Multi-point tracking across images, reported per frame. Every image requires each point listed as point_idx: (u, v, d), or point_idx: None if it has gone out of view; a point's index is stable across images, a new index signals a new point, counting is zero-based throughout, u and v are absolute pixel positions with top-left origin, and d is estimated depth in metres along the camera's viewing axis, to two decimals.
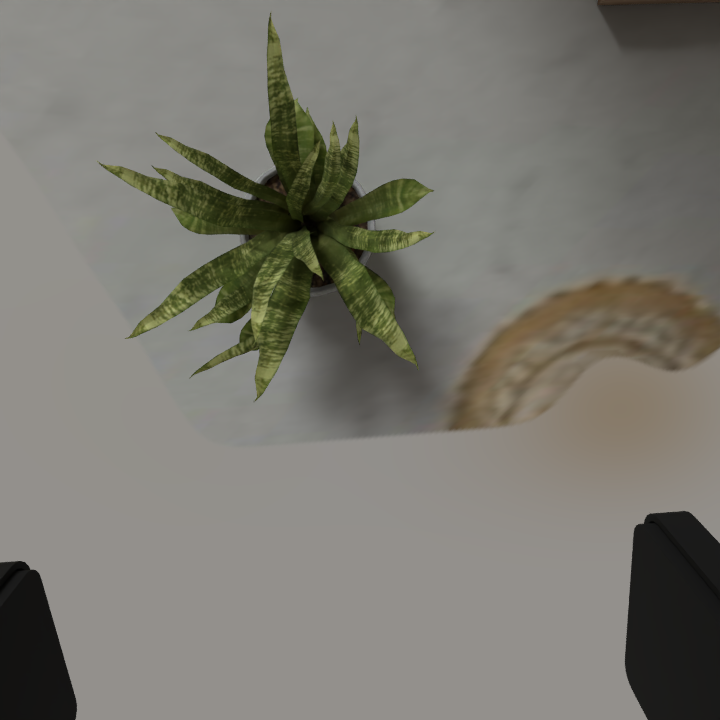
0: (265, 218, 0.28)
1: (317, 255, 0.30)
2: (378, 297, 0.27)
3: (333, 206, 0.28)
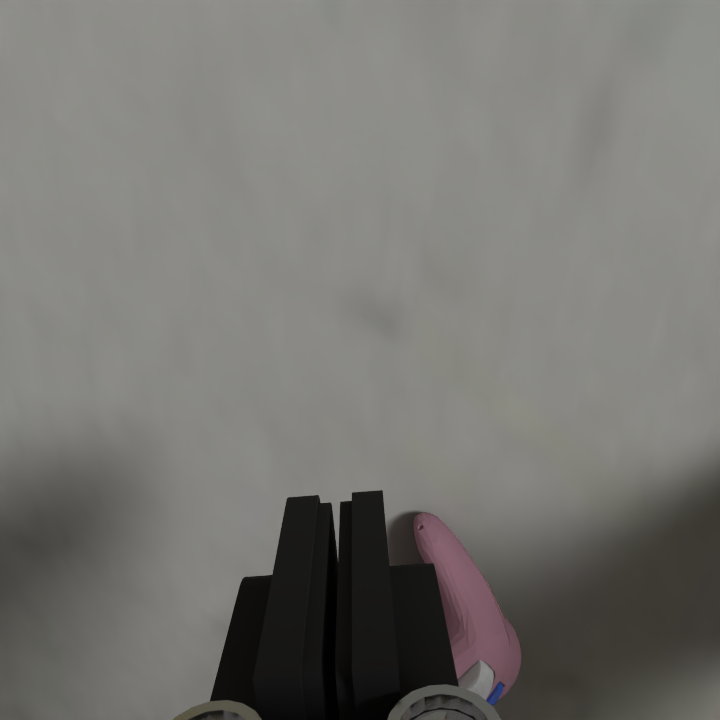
0: None
1: None
2: None
3: None
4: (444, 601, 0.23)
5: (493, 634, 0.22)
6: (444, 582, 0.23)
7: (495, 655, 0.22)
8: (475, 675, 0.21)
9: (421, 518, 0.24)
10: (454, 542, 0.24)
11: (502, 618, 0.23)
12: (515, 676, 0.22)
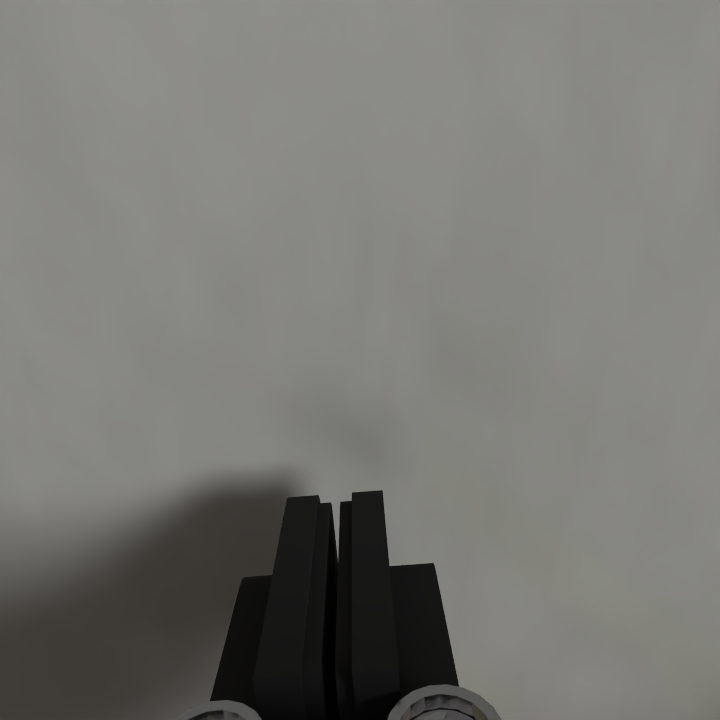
0: None
1: None
2: None
3: None
4: None
5: None
6: None
7: None
8: None
9: None
10: None
11: None
12: None
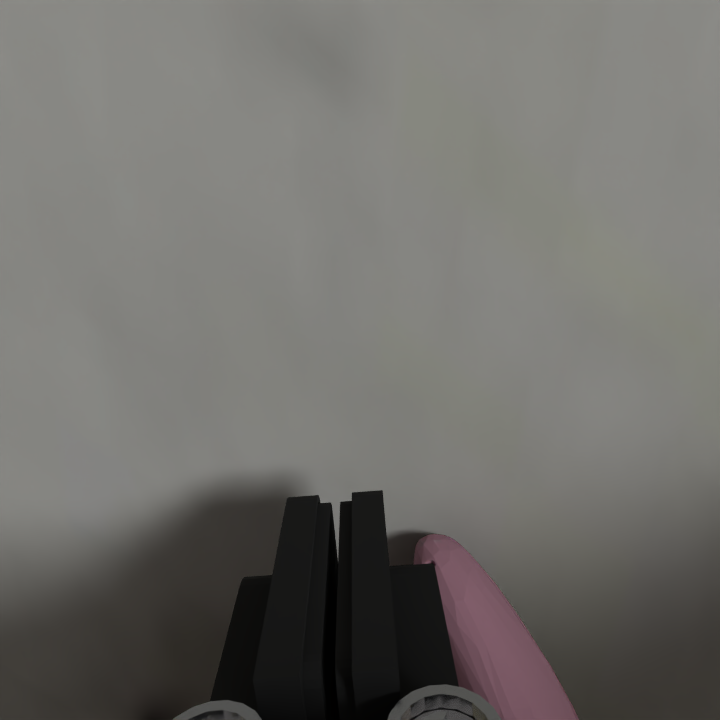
0: None
1: None
2: None
3: None
4: None
5: None
6: (479, 686, 0.11)
7: None
8: None
9: (431, 547, 0.12)
10: (496, 598, 0.12)
11: None
12: None
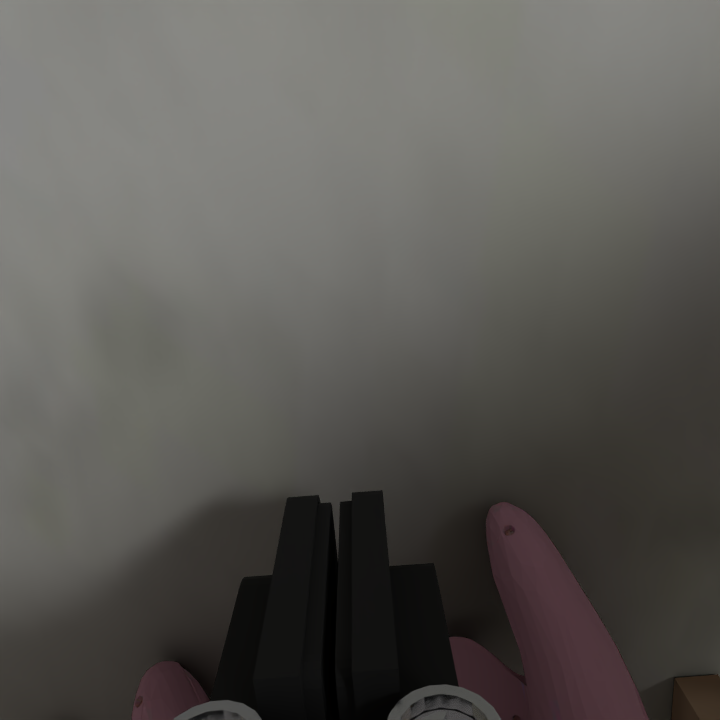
0: None
1: None
2: None
3: None
4: (543, 693, 0.11)
5: None
6: (554, 655, 0.11)
7: None
8: None
9: (508, 512, 0.12)
10: (568, 571, 0.12)
11: None
12: None
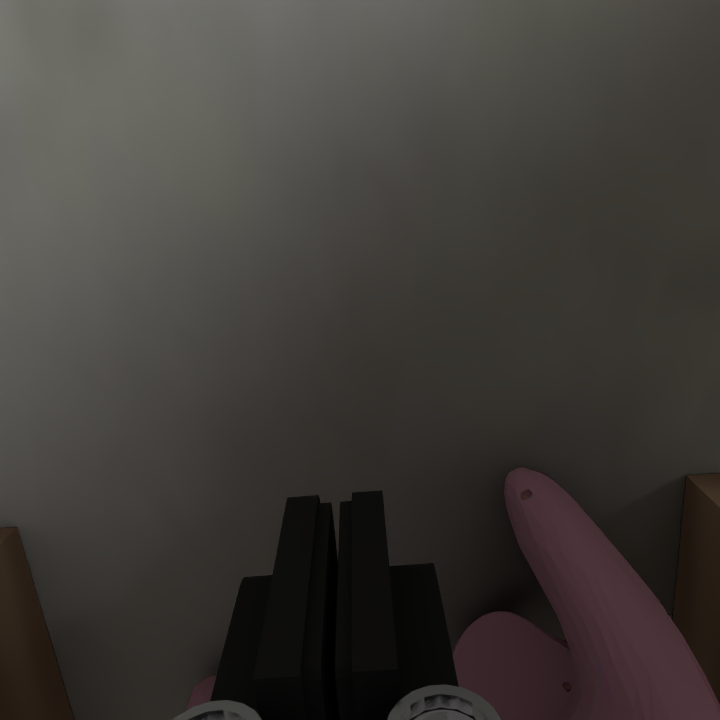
0: None
1: None
2: None
3: None
4: (585, 655, 0.10)
5: None
6: (589, 613, 0.10)
7: None
8: None
9: (524, 477, 0.12)
10: (595, 528, 0.11)
11: (711, 694, 0.10)
12: None
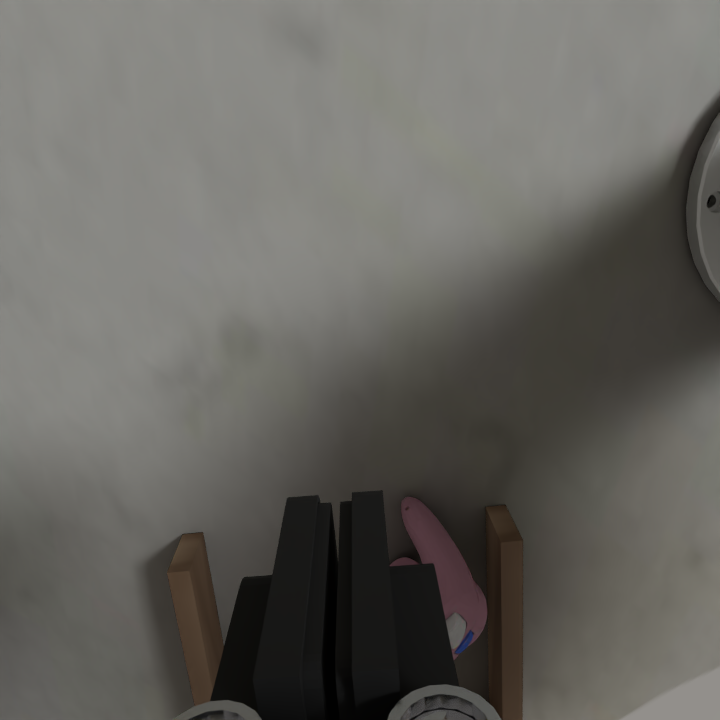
0: None
1: None
2: None
3: None
4: None
5: (465, 592, 0.27)
6: (426, 551, 0.28)
7: (467, 609, 0.27)
8: (451, 624, 0.27)
9: (407, 501, 0.29)
10: (434, 520, 0.29)
11: (472, 580, 0.28)
12: (482, 626, 0.28)
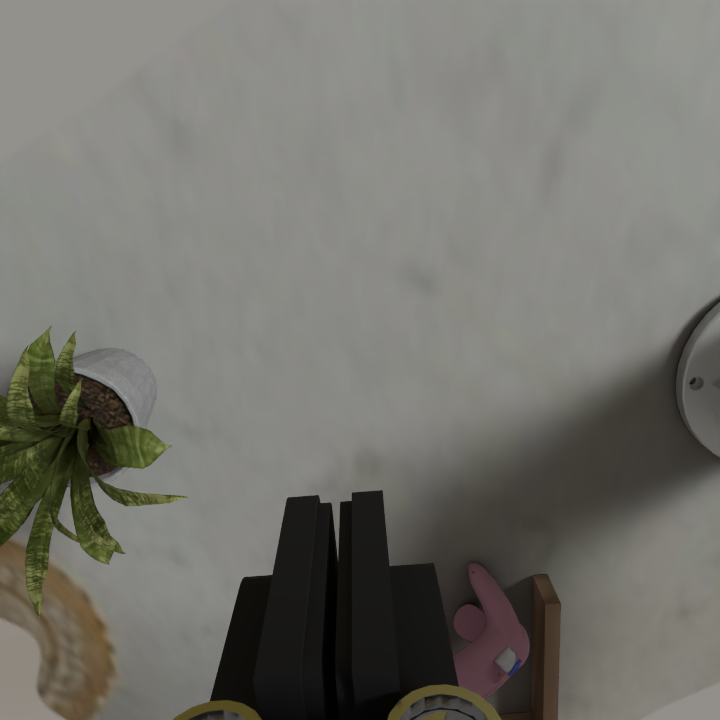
0: (49, 433, 0.28)
1: None
2: None
3: None
4: (487, 614, 0.41)
5: (515, 633, 0.40)
6: (488, 604, 0.41)
7: (516, 644, 0.40)
8: (506, 655, 0.39)
9: (473, 566, 0.42)
10: (492, 581, 0.42)
11: (519, 624, 0.41)
12: (526, 656, 0.40)
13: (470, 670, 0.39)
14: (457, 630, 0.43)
